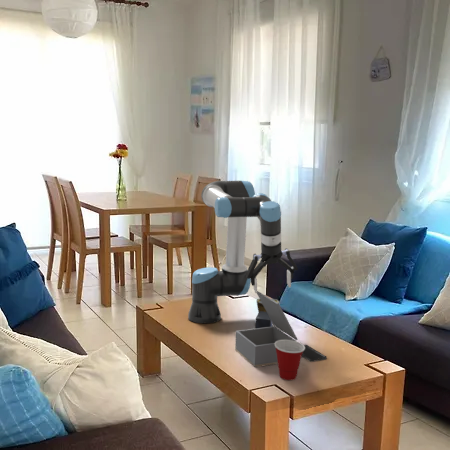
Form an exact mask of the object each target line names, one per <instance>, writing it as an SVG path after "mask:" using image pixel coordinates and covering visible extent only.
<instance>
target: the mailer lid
mask: <svg viewBox="0 0 450 450" xmlns="http://www.w3.org/2000/svg"><path fill="white" fill-rule="evenodd" d="M256 295H257V296H258V299H260V300H261V302H262V304H263V306H264V308H265V310H266V311H267V313H268V315H269V317H270V319H271V321H272V323H273V326H275V327H276V328H278V329H279V330H281V331H282V332H284V333H285V334H287V335H288V336H290V337H291V338H293V339H294V340H296V341H298V339H299V338H298V337H297V335H296V334H295V332H294V330H293V328H292V326H291V324H290V322H289V320H288V318H287V316H286V313H284V310H283V309H282V306H281V305H280V302H279V303H277V302H276V301H274V300H273V299H274V298H272V297H270V296H268V295H266V294H263V293H262V292H260V291H259V290H257V293H256Z"/></svg>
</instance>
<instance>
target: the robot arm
mask: <svg viewBox="0 0 450 450" xmlns="http://www.w3.org/2000/svg"><path fill="white" fill-rule="evenodd" d="M200 198H201V200H202V202H203V204H205V205H206V206H207V207H210V208H214V213H215V216H216V217H218V218H225V219H227V230H226V247H225V248H226V249H225V263H224V264H223V265H222V266H221V267H222V268H221V270H218V268H217V267H209V266H208V267H202V268H198V269H197V270H194V272H193V273H192V277H191V278H192V280H191V284H192V286H191V287H192V293H191V296H192V297H191V304H190V308H189V311H188V315H187V316H188V320H189V321H190V322H193V323H198V324H212V323H213V324H214V323H216V322H219V321H220V320H221V319H222V317H221V314H222V313H221V310H220V307H219V304H218V297H229V296H231V297H233V296H235V297H238V296H245V295H246V294H248V292H249V291H250V287H251V286H252V287H253V291H254V293H255V294H257V291H258V281H257V276H258V275H259V274H260V272H261V271H262V270H263V269H264V268H265V267H266V266H267V265H272V264H277V263H279V264H280V265H282V266H283V267H284V268H285V269H287V270H286V284H287V286H288V288H291V287H292V279H293V278H294V273H295V271H298V270H299V268H298V266H297V265H296V263H295V261H294V259H293V258H292V256H291V253H290V250H289V248H285V249H284V250H282V210H281V205H280V203H278V202H276V201H274V200H273V201H272V200H271V198H270V197H268V196H267V194H265V193H264V192H263V193H262V192H258V193H256V190H255V186H254V185H253V183H252V182H251V181H248V180H216V181H212V182H210V183H208V184H207V185H205V186H204V187H203V189H202V191H201V196H200ZM247 218H257V219H258V220H259V222H260V242H261V243H260V245H261V249H260V250H261V253H260V254H256V253H253V255H252V260H251V262H250V264H249V266H248V267H247V265H245V258H246V255H245V254H246V237H247V235H246V234H247V221H248V219H247ZM283 255H284V256H285V257H286V258H287V259H288V261H289V262H290V263H287V262H286V261H285V260H284V259H283V258H282V257H283ZM258 262H259V263H258ZM290 264H291V265H292V266H291V265H290Z"/></svg>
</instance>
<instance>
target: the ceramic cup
mask: <svg viewBox="0 0 450 450" xmlns="http://www.w3.org/2000/svg"><path fill="white" fill-rule="evenodd" d="M272 299H273V300H274V301H276V302H277V303H279V304H280V302H279V300H278V299H276V298H272ZM256 305H257V310H258V311H257V312H258V313H259V311H263V312H267V311H266V310H265V308H264V306H263V304H262V302H261V300H260V298H257V299H256Z"/></svg>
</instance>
